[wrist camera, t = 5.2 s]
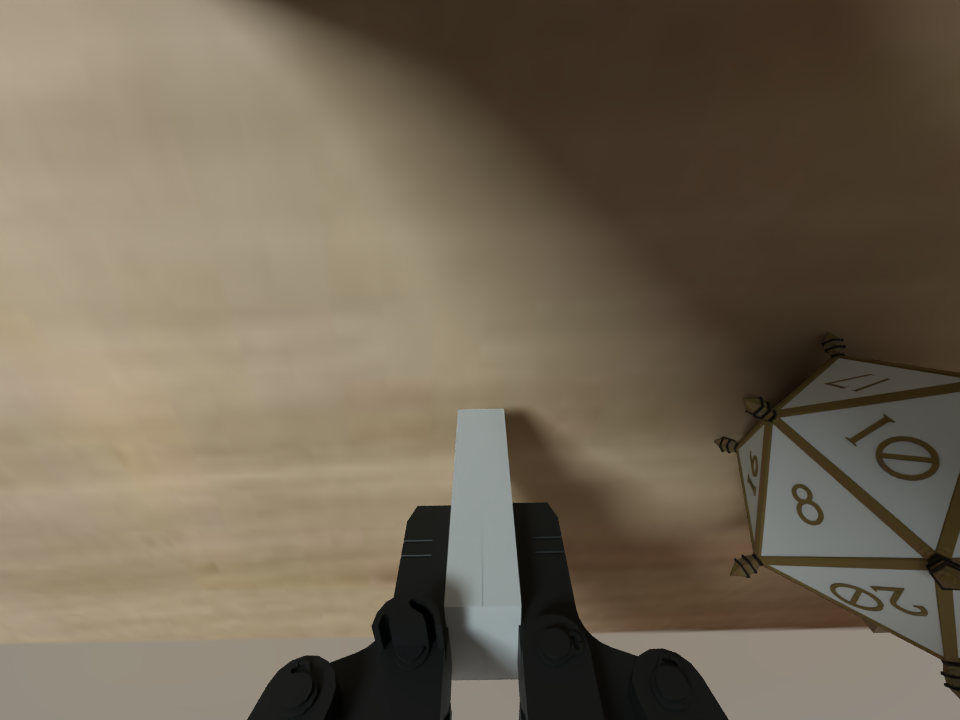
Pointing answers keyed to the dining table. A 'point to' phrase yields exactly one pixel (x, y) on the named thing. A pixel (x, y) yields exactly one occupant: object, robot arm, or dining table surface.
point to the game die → (862, 495)
